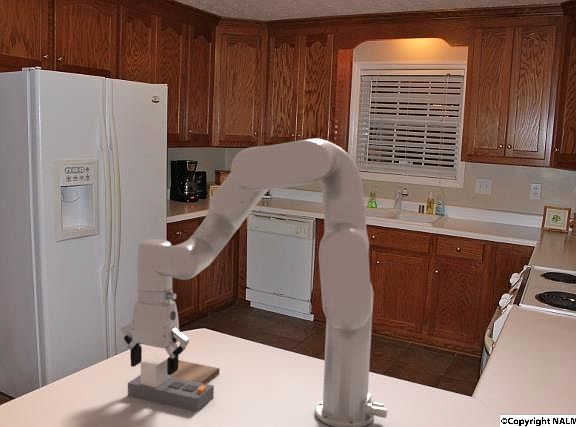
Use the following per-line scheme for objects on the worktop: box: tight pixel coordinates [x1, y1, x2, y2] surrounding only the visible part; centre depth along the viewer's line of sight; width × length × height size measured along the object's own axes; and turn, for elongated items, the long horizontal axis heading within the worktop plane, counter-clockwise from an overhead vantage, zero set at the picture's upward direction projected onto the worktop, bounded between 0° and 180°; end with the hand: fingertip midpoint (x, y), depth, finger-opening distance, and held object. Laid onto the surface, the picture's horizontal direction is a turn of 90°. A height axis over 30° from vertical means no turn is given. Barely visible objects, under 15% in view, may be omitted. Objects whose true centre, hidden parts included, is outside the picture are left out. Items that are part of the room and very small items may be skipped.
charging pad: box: [170, 359, 220, 384], centre depth 140 cm, size 12×10×2 cm
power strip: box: [127, 374, 215, 413], centre depth 129 cm, size 18×7×4 cm, turn 68°
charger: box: [140, 353, 170, 387], centre depth 130 cm, size 4×6×6 cm
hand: (154, 368), depth 130 cm, fingers open, 9 cm apart
